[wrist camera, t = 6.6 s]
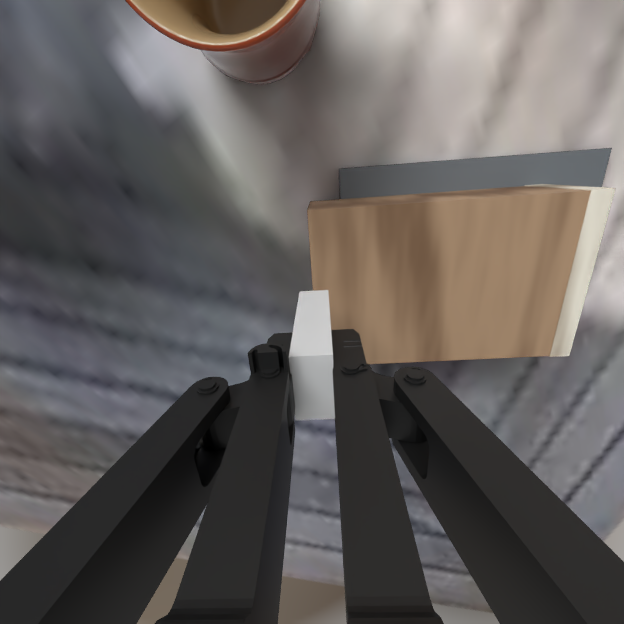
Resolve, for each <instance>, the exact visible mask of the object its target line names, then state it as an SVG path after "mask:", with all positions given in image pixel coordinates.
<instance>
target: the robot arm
mask: <svg viewBox="0 0 624 624" xmlns="http://www.w3.org/2000/svg"><path fill="white" fill-rule="evenodd" d="M248 358H249V364H250V370H251V376H250V379H249V380H248V381H245V382H243V383H239V384H235V385H231V386H228V382H227V381H226V380H225V379H224V378H221V377H208V378H204V379H202V380H200V381H197V382H196V383H194V384H193V385H192V386H191V387H190V388H189V389H188V390H187V391H186V392H185V393H184V394H183V395H182V396H181V397H180V398H179V399H178V400H177V401H176V402H175V403H174V404H173V405H172V406H171V407H170V408H169V409H168V410H167V411H166V412H165V413H164V414H163V415H162V416H161V417H160V418H159V419H158V420H157V421H156V422H155V423H154V424H153V425H152V426H151V427H150V428H149V429H148V430H147V431H146V433H145V434H144V435H143V436H142V437H141V438H140V439H139V440H138V441H137V442H136V443H135V444H134V445H133V446H132V447H131V448H130V449H129V450H128V451H127V452H126V453H125V454H124V455H123V456H122V457H121V458H120V459H119V460H118V461H117V462H116V463H115V464H114V465H113V466H112V467H111V468H110V469H109V470H108V471H107V472H106V473H105V474H104V475H103V476H102V477H101V478H100V479H99V481H98V482H97V483H96V484H95V485H94V486H93V487H92V488H91V489H90V490H89V491H88V492H87V493H86V494H85V495H84V496H83V497H82V498H81V499H80V500H79V501H78V502H77V503H76V504H75V505H74V506H73V507H72V508H71V509H70V510H69V511H68V512H67V513H66V514H65V515H64V516H63V517H62V518H61V519H60V520H59V521H58V522H57V523H56V524H55V525H54V526H53V528H52V529H51V530H50V531H49V532H48V533H47V534H46V535H45V536H44V537H43V538H42V539H41V540H40V541H39V542H38V543H37V544H36V545H35V546H34V547H33V548H32V549H31V550H30V551H29V552H28V553H27V554H26V555H25V556H24V557H23V558H22V559H21V560H20V561H19V562H18V563H17V564H16V565H15V566H14V567H13V568H12V569H11V570H10V571H9V572H8V573H7V574H6V576H5V577H4V578H3V579H2V580H1V581H0V624H137V622H138V620H139V618H140V617H141V615H142V613H143V612H144V610H145V608H146V607H147V605H148V603H149V602H150V600H151V598H152V596H153V595H154V593H155V591H156V590H157V588H158V586H159V585H160V583H161V581H162V579H163V578H164V576H165V574H166V573H167V571H168V569H169V568H170V566H171V564H172V563H173V561H174V559H175V557H176V556H177V554H178V552H179V551H180V549H181V547H182V546H183V544H184V542H185V541H186V539H187V537H188V535H189V534H190V532H191V530H192V529H193V527H194V525H195V524H196V522H197V520H198V519H199V517H200V515H201V513H202V512H203V510H204V508H205V507H206V509H205V512H204V515H203V518H202V521H201V524H200V527H199V530H198V533H197V536H196V539H195V542H194V545H193V548H192V551H191V554H190V557H189V560H188V563H187V566H186V569H185V572H184V575H183V578H182V581H181V584H180V587H179V590H178V593H177V596H176V599H175V601H174V604H173V606H172V609H171V610H170V612H169V613H168V615H166V616H164V617H163V618H161V619H159V620H157V621H156V623H155V624H278V613H279V602H280V592H281V580H282V570H283V559H284V548H285V537H286V526H287V515H288V504H289V493H290V482H291V471H292V460H293V449H294V438H295V425H294V414H295V419H296V420H322V419H335V427H336V446H337V462H338V479H339V497H340V514H341V532H342V549H343V566H344V584H345V600H346V618H347V624H444V623H443V621H442V619H441V617H440V616H439V615H438V614H437V613H436V612H435V611H434V609H433V606H432V604H431V600H430V597H429V593H428V589H427V585H426V581H425V577H424V573H423V570H422V566H421V562H420V558H419V554H418V550H417V546H416V542H415V538H414V534H413V530H412V527H411V523H410V519H409V515H408V511H407V507H406V503H405V499H404V495H403V491H402V487H401V484H400V480H399V476H398V472H397V468H396V464H395V460H394V456H393V452H392V448H391V445H390V441H389V438H392V442H393V445H394V446H395V448H396V450H397V451H398V453H399V455H400V456H401V458H402V460H403V461H404V463H405V465H406V467H407V468H408V470H409V472H410V473H411V475H412V477H413V478H414V480H415V482H416V483H417V485H418V487H419V488H420V490H421V492H422V493H423V495H424V497H425V498H426V500H427V502H428V503H429V505H430V507H431V509H432V510H433V512H434V514H435V515H436V517H437V519H438V520H439V522H440V524H441V525H442V527H443V529H444V530H445V532H446V534H447V535H448V537H449V539H450V540H451V542H452V544H453V546H454V547H455V549H456V551H457V552H458V554H459V556H460V557H461V559H462V561H463V562H464V564H465V566H466V567H467V569H468V571H469V572H470V574H471V576H472V577H473V579H474V581H475V582H476V584H477V586H478V588H479V589H480V591H481V593H482V594H483V596H484V598H485V599H486V601H487V603H488V604H489V606H490V608H491V609H492V611H493V613H494V614H495V616H496V618H497V619H498V621H499V623H500V624H624V562H623V561H622V560H621V559H620V558H619V557H618V556H617V555H616V554H615V553H614V552H613V551H612V550H611V549H610V548H609V547H608V546H607V545H606V544H605V543H604V542H603V541H602V540H601V539H600V538H599V537H598V536H597V535H596V534H595V533H594V532H593V531H592V530H591V529H590V528H589V527H588V526H587V525H586V524H585V523H584V522H583V521H582V520H581V519H580V518H579V517H578V516H577V515H576V514H575V513H574V512H573V511H572V510H571V509H570V508H569V507H568V506H567V505H566V504H565V503H563V502H562V501H561V500H560V499H559V498H558V497H557V496H556V495H555V494H554V493H553V492H552V491H551V490H550V489H549V488H548V487H547V486H546V485H545V484H544V483H543V482H542V481H541V480H540V479H539V478H538V477H537V476H536V475H535V474H534V473H533V472H532V471H531V470H530V469H529V468H528V467H527V466H526V465H525V464H524V463H523V462H522V461H521V460H520V459H519V458H518V457H517V456H516V455H515V454H514V453H513V452H512V451H511V450H510V449H509V448H508V447H507V446H506V445H505V444H504V443H503V442H502V441H501V440H500V439H499V438H498V437H497V436H496V435H495V434H494V433H493V432H492V431H491V430H490V429H488V428H487V427H486V426H485V425H484V424H483V423H482V422H481V421H480V420H479V419H478V418H477V417H476V416H475V415H474V414H473V413H472V412H471V411H470V410H469V409H468V408H467V407H466V406H465V405H464V404H463V403H462V402H461V401H460V400H459V399H458V398H457V397H456V396H455V395H454V394H453V393H452V392H451V391H450V390H449V389H448V388H447V387H446V386H445V385H444V384H443V383H442V382H441V381H440V380H439V379H438V378H437V377H436V376H435V375H434V374H432V373H431V372H429V371H428V370H425V369H422V368H419V367H405V368H402V369H399V370H398V371H397V372H395V375H394V377H388V376H383V375H379V374H377V373H375V372H373V371H372V370H371V367H370V366H369V364H367V363H366V359H365V355H364V351H363V347H362V343H361V339H360V334H359V333H358V332H357V331H355V330H354V329H340V330H331V321H330V307H329V293H328V290H318V291H300V292H299V298H298V304H297V310H296V316H295V322H294V328H293V333H278V334H273V335H272V336H271V337H270V338H269V339H268V341H267V344H261V345H258V346H256V347H254V348H252V349H251V350H250V351H249V352H248ZM206 505H207V506H206Z"/></svg>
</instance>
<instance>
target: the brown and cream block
mask: <svg viewBox="0 0 624 624" xmlns="http://www.w3.org/2000/svg"><path fill="white" fill-rule="evenodd" d="M615 189H616V188H606V187H588V186H570V185H552V184H535V185H525V186H519V187H505V188H491V189H477V190H463V191H449V192H435V193H421V194H407V195H393V196H379V197H365V198H351V199H337V200H323V201H310V204H309V207H308V210H307V215H308V229H309V243H310V257H311V270H312V284H313V291H318V290H328V293H329V307H330V321H331V330H340V329H354V330H355V331H357V332H358V333H359V334H360V339H361V343H362V347H363V351H364V355H365V359H366V363H367V364H383V363H405V362H427V361H448V360H470V359H492V358H513V357H535V356H549V357H559V356H569V355H570V351H571V348H572V344H573V341H574V337H575V333H576V330H577V326H578V323H579V319H580V315H581V312H582V308H583V305H584V301H585V297H586V294H587V290H588V286H589V283H590V279H591V276H592V272H593V268H594V265H595V261H596V258H597V254H598V250H599V247H600V243H601V240H602V236H603V232H604V229H605V225H606V222H607V218H608V214H609V211H610V207H611V204H612V200H613V196H614V193H615Z"/></svg>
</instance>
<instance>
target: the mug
mask: <svg viewBox="0 0 624 624" xmlns="http://www.w3.org/2000/svg"><path fill="white" fill-rule="evenodd" d="M125 1H126V2H127V3H128V4H129V5H130V6H131V7H132V9H133V10H134V11H135V12H136V13H137V14H138V15H139V16H140V17H142V18H143V19H144V20H145V21H146V22H147V23H148V24H150V25H151V26H152V27H154V28H155V29H156V30H158V31H159V32H161V33H162V34H164V35H166V36H167V37H169V38H171V39H173V40H175V41H177V42H179V43H181V44H183V45H186V46H189V47H192V48H195V49H200V50H201V52H202V53H203V54H204V56H205V57H206V58H207V59H208V60H209V61H210V62H211V63H212V64H213V65H214V66H215V67H216V68H217V69H219V70H220V71H221V72H223V73H224V74H225V75H227V76H229V77H232V78H234V79H237V80H239V81H243V82H248V83H252V84H268V83H272V82H275V81H278V80H280V79H282V78H284V77H285V76H287V75H288V74H289V73H291V72H292V71H293V70H294V69H295V68H296V67H297V66H298V64H299V63H300V62H301V60H302V59H303V57H304V56H305V55H306V53H307V52H308V51H309V50H310V47H311V45H312V42H313V38H314V35H315V31H316V27H317V24H318V20H319V15H320V0H125Z"/></svg>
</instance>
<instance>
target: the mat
mask: <svg viewBox="0 0 624 624" xmlns="http://www.w3.org/2000/svg"><path fill="white" fill-rule="evenodd" d="M611 149H612V148H604V149H591V150H578V151H564V152H551V153H538V154H525V155H512V156H499V157H486V158H473V159H459V160H446V161H433V162H420V163H407V164H394V165H381V166H368V167H354V168H341V169H339V183H340V199H351V198H365V197H379V196H393V195H407V194H421V193H435V192H449V191H463V190H477V189H491V188H505V187H519V186H525V185H535V184H552V185H570V186H588V187H602V184H603V180H604V176H605V172H606V168H607V164H608V161H609V157H610V153H611Z"/></svg>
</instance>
